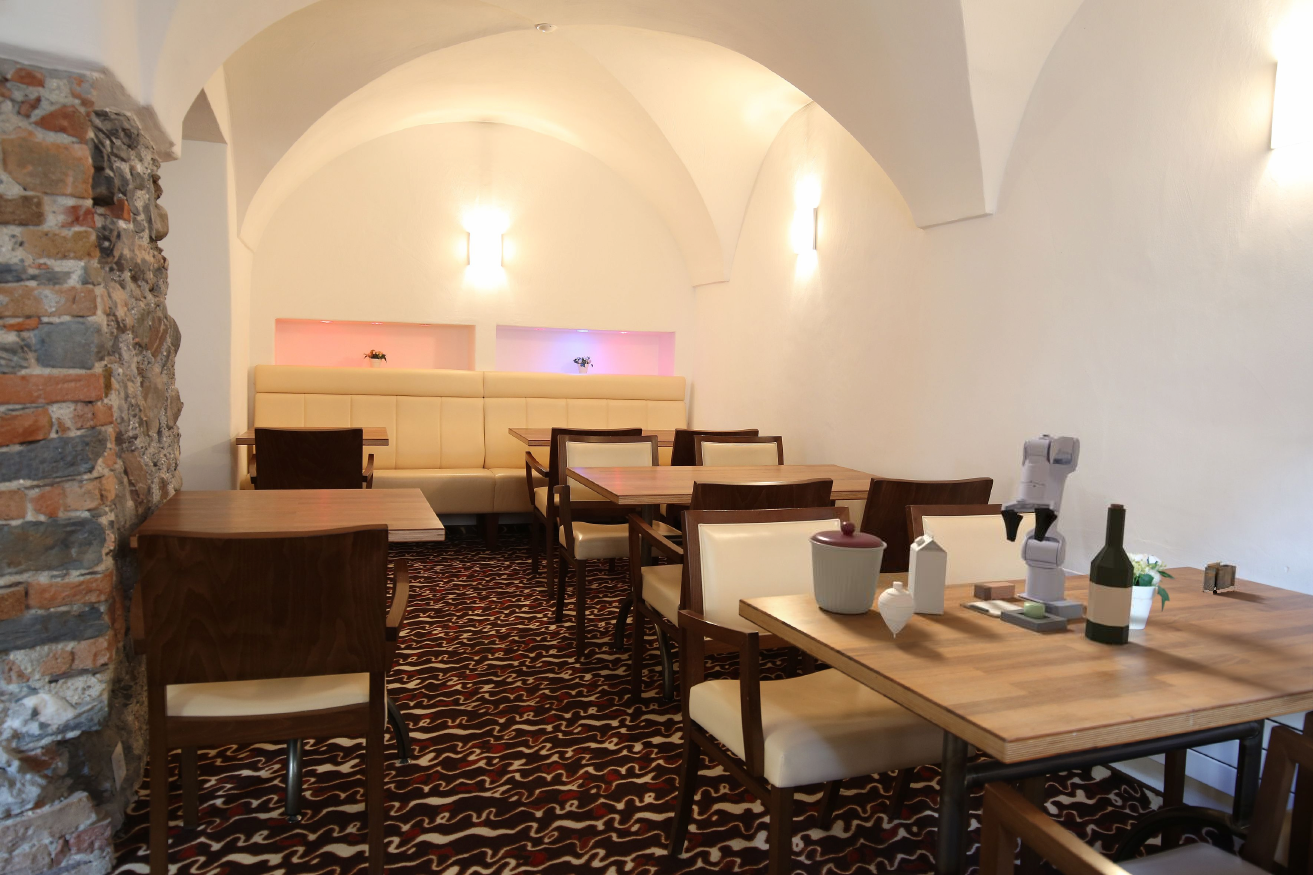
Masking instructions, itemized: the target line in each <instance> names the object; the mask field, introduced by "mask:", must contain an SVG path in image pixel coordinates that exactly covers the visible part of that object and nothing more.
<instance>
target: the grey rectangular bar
mask: <svg viewBox="0 0 1313 875" xmlns="http://www.w3.org/2000/svg"><path fill="white" fill-rule="evenodd" d="M1041 604H1044V605H1045V613H1048V614H1052V615H1055V616H1058V617H1061V618H1064V619H1067V620H1071V619H1079V618H1083V613H1084V603H1083V602H1080V601H1076V600H1073V599H1067V600H1065V601H1056V602H1047V603H1041Z"/></svg>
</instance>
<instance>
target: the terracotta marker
mask: <svg viewBox="0 0 1313 875" xmlns="http://www.w3.org/2000/svg"><path fill="white" fill-rule="evenodd" d="M1015 593H1016V584H1014V583H1011V582H1007V581H1001V582H1000V581H999V582H987V583H976V584H974V588H973V598H974V597H975V599H977V598H978V599H977V600H980V599H982V600H981V601H983V600H986V601H989V600H992V599H995V600H998V599H1000V600H1002V599H1001V598H1005V599H1011V597H1014V598H1015V596H1016V595H1015Z"/></svg>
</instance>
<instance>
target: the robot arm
mask: <svg viewBox="0 0 1313 875" xmlns="http://www.w3.org/2000/svg"><path fill="white" fill-rule="evenodd" d="M1080 449H1081V442H1080V439H1079V438H1078V437H1073V436H1064V435H1051V434H1050V433H1042V434H1041V435H1039V436H1038V438H1036V439H1035V438H1029V439H1028V440H1025V441H1024V442H1023V446H1022V460H1021V461H1022V462H1021V466H1022V471H1021V477H1020V483H1019V490H1018V494H1017V498H1015V500H1014V501H1011V502H1007V503H1002V504H1001V509H1000V514H1001V517H1002V520H1003V523H1004V525H1005V526H1004V527H1005V535H1006V540H1007V541H1009V542H1011V543H1015V542H1016V541H1017V540H1016V539H1017V536H1018V530H1019V527H1020V525H1021V522H1022V521H1023V519H1024V515H1022V514H1019V513H1030V512H1034V517H1035V518H1034V519H1035V527H1033V528H1031V529H1028V530H1026V532H1025V534H1024V539H1023V540H1022V544H1021V549H1020V556H1021V560H1022V561H1024V562H1025V563H1024V564H1025V565H1026V576H1025V588H1024V592H1023V593H1022V592H1021V593H1017V594H1016V595H1017V597H1020V598H1023V599H1026V600H1030V601H1032V602H1036V603H1047V602H1056V601H1065V600H1068V599H1067V598H1065V588H1066V587H1065V586H1066V572H1065V570H1064V569H1063V567H1062V566H1063V565H1064V563H1065V560H1066V554H1067V553H1066V551H1067V550H1066V549H1067V548H1066V547H1067V541H1066V537H1065V536H1064V535H1063V534H1062V533H1061V532H1060V531H1058V530H1057V529H1058V524H1059V518H1060V513H1061V509H1062V508H1061V506H1062V501H1063V497H1064V490H1065V484H1066V482H1067V478H1068V476H1069V474H1071V473H1074V472H1076V469H1077V467H1078V462H1079V457H1080V452H1081V450H1080Z"/></svg>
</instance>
